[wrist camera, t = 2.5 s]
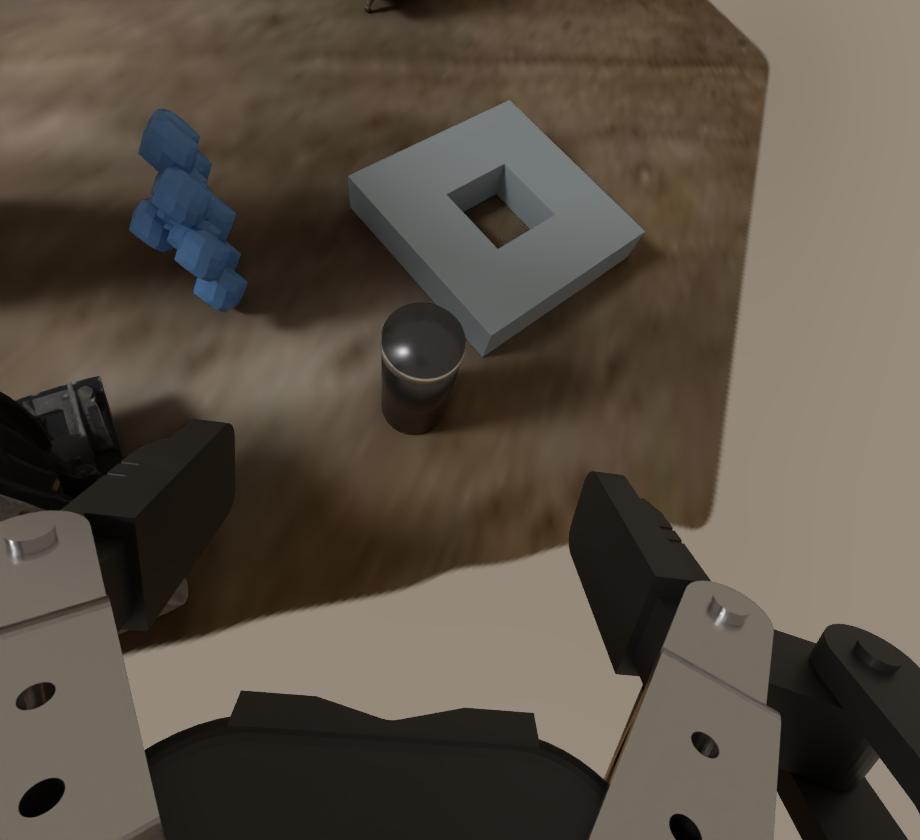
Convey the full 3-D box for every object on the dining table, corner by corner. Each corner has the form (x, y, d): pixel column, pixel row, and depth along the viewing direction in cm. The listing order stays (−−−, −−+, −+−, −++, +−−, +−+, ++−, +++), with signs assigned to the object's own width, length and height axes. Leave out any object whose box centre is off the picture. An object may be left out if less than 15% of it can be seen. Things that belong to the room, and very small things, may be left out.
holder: (350, 207, 43) (347, 175, 40) (501, 132, 49) (509, 100, 46) (482, 357, 39) (491, 335, 36) (626, 257, 45) (644, 231, 42)
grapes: (154, 225, 39) (64, 75, 28) (242, 211, 41) (190, 65, 30) (178, 349, 36) (85, 234, 25) (272, 329, 38) (225, 213, 26)
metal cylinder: (367, 398, 37) (363, 328, 28) (419, 364, 38) (430, 288, 29) (407, 448, 36) (416, 393, 27) (458, 411, 37) (483, 347, 28)
